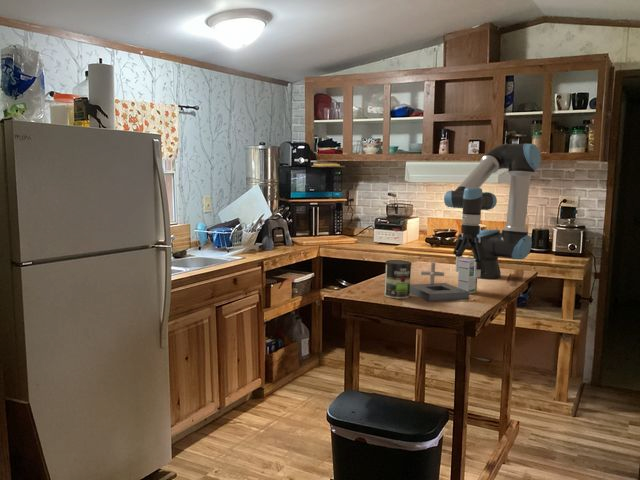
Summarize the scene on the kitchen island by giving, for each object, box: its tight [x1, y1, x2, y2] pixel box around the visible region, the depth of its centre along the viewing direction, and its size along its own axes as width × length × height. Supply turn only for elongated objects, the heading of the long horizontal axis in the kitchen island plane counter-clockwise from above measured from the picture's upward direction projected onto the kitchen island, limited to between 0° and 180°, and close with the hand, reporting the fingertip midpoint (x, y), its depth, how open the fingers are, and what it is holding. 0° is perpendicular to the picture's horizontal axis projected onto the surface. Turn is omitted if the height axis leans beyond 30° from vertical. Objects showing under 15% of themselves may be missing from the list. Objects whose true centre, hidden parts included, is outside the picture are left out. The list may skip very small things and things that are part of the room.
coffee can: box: [384, 259, 412, 300], centre depth 223 cm, size 10×10×14 cm
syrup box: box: [457, 257, 478, 294], centre depth 233 cm, size 6×6×14 cm
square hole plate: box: [410, 282, 470, 303], centre depth 226 cm, size 18×18×3 cm
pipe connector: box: [420, 261, 445, 284], centre depth 247 cm, size 10×10×10 cm
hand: (467, 274), depth 233 cm, fingers open, 13 cm apart
